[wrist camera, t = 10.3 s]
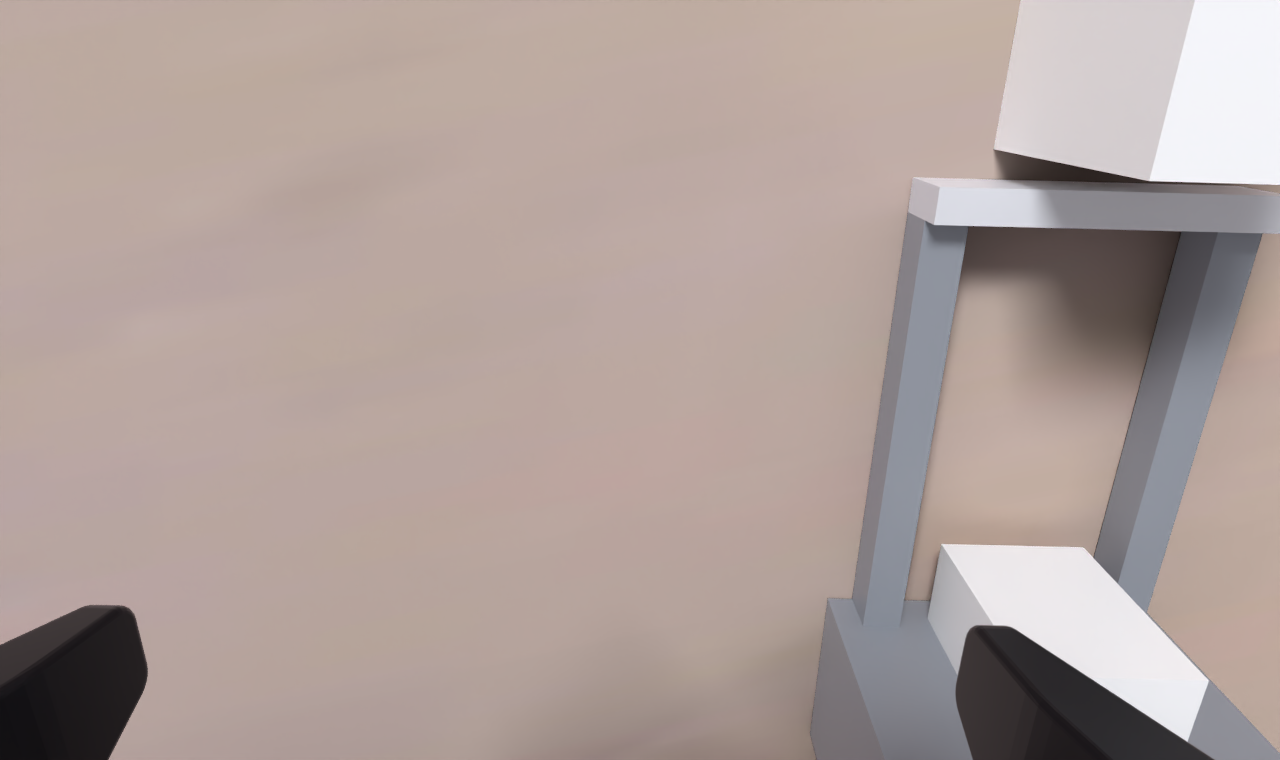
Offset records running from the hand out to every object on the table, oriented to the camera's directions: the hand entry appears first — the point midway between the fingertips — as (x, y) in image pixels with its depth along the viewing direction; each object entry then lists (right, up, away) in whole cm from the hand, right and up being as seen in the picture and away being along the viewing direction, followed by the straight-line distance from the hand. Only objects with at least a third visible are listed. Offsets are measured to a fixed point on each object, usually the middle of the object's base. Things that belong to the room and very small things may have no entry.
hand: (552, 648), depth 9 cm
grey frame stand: (+11, 0, +13) cm, 17 cm away
